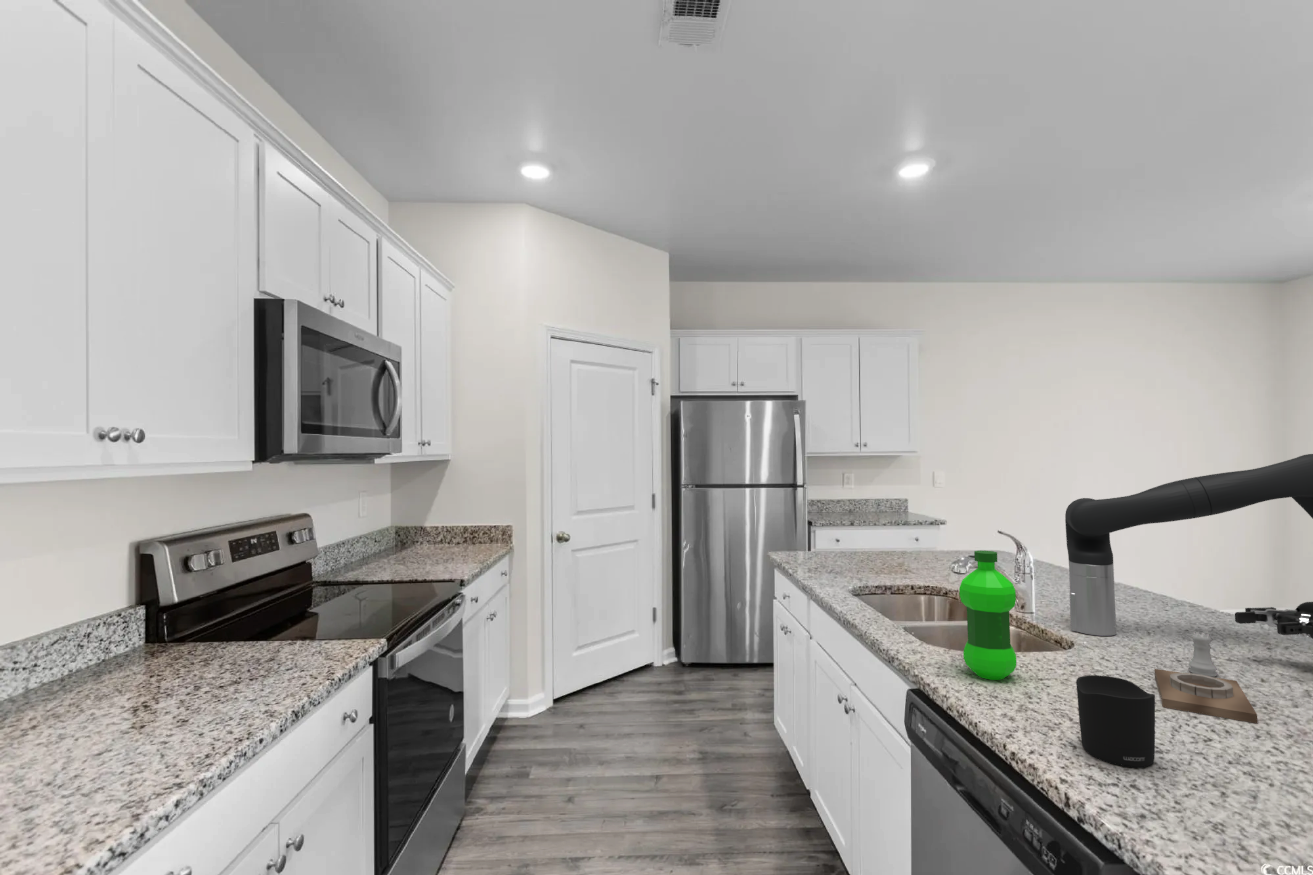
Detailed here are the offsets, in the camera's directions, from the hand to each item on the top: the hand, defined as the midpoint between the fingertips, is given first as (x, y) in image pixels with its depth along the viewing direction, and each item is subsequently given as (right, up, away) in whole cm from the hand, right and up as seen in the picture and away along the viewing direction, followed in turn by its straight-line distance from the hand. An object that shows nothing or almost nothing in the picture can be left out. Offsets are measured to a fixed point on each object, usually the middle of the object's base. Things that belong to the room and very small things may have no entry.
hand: (1257, 623), depth 123 cm
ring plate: (-22, -10, -12) cm, 27 cm away
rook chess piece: (-11, -10, 0) cm, 15 cm away
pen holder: (-53, -10, -32) cm, 63 cm away
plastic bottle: (-54, -11, +1) cm, 55 cm away
